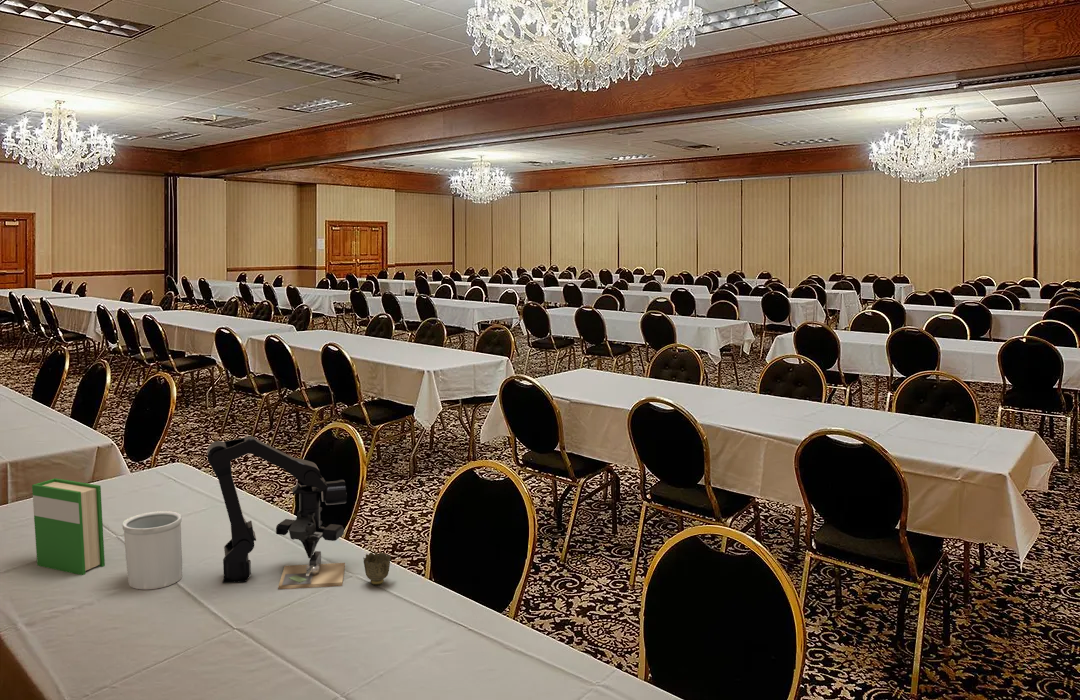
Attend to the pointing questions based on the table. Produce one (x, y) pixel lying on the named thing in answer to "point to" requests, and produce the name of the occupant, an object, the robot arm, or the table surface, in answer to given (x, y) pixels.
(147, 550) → the utensil holder
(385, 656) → the table surface
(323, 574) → the tuner board
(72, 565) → the hardback book
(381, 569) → the cup
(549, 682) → the table surface
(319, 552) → the peg knob
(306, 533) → the robot arm
